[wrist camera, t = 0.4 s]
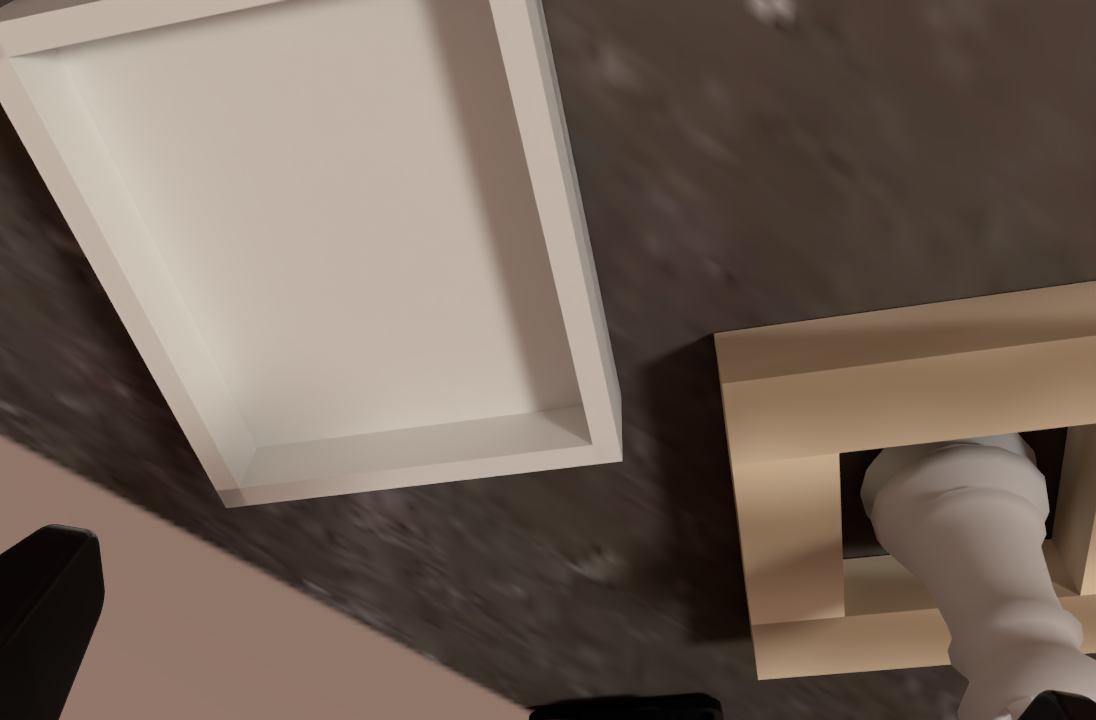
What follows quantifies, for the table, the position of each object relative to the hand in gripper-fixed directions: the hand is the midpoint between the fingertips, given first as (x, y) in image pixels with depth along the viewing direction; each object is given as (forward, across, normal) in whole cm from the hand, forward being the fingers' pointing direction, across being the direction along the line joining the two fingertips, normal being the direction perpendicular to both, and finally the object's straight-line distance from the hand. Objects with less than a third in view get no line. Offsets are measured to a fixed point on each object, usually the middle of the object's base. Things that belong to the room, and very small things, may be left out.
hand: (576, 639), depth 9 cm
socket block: (+14, -11, +8) cm, 19 cm away
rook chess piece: (+14, -11, +8) cm, 19 cm away
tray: (+13, +5, +3) cm, 15 cm away
